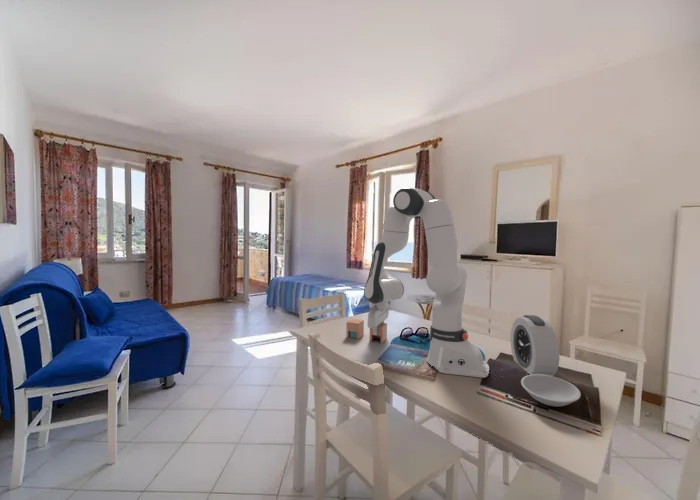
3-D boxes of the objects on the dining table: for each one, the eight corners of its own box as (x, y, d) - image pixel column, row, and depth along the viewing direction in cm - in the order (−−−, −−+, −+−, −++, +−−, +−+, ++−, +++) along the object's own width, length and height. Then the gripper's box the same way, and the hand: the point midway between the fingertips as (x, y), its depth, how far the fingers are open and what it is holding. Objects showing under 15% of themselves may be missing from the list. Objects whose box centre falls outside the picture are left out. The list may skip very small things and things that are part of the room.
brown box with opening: (386, 338, 139) (387, 323, 139) (382, 343, 133) (382, 327, 133) (374, 336, 142) (374, 321, 141) (369, 341, 136) (369, 325, 136)
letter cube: (360, 335, 144) (360, 327, 143) (357, 338, 140) (357, 329, 140) (353, 334, 145) (353, 326, 145) (349, 336, 142) (349, 328, 141)
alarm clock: (509, 356, 120) (511, 308, 119) (529, 357, 119) (530, 309, 118) (535, 381, 99) (537, 324, 98) (558, 383, 98) (561, 325, 97)
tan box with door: (363, 335, 144) (363, 320, 144) (358, 339, 138) (358, 323, 138) (351, 333, 147) (351, 318, 146) (346, 337, 141) (346, 321, 141)
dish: (573, 427, 75) (574, 408, 74) (512, 404, 85) (513, 387, 85) (584, 401, 87) (585, 385, 87) (529, 383, 97) (530, 369, 97)
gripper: (377, 308, 126) (377, 340, 127) (391, 300, 145) (390, 327, 145) (364, 307, 129) (363, 338, 129) (379, 298, 147) (378, 325, 148)
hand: (378, 332), depth 137 cm, fingers closed on brown box with opening, 6 cm apart
